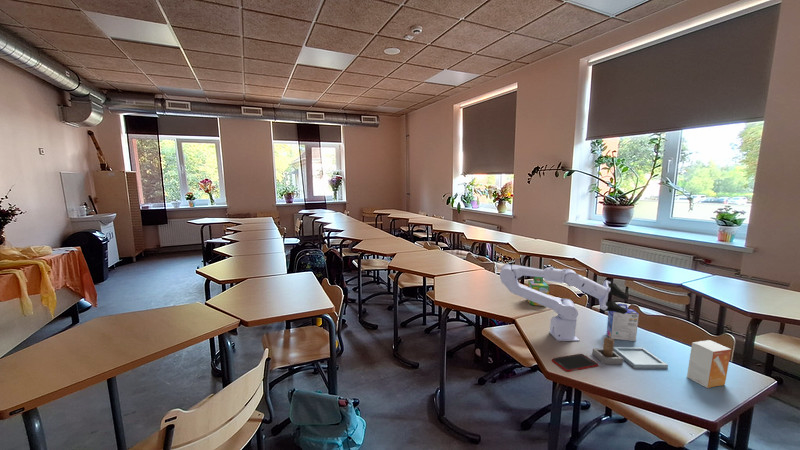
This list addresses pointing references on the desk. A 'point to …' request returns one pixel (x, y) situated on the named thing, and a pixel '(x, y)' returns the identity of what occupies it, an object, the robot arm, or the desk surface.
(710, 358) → the small box
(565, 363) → the cell phone
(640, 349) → the tray
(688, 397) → the desk surface
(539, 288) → the chalk box
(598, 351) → the square frame
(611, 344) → the pin
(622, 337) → the ink cartridge box
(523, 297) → the robot arm
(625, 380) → the desk surface
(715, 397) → the desk surface
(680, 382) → the desk surface
